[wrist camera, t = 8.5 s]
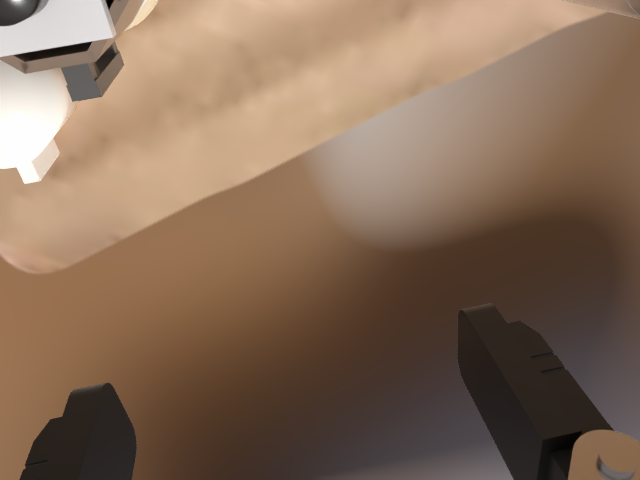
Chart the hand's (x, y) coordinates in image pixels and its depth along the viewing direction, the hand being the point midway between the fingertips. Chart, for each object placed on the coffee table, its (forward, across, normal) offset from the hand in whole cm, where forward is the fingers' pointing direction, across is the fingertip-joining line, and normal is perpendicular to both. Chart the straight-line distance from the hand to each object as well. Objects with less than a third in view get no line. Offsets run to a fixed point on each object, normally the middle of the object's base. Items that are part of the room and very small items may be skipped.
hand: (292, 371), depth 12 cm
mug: (+38, +18, 0) cm, 42 cm away
